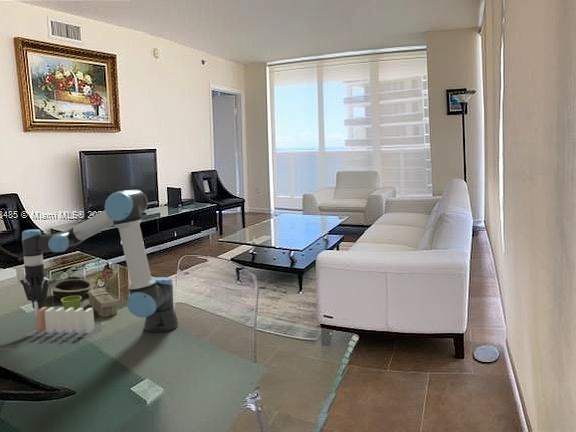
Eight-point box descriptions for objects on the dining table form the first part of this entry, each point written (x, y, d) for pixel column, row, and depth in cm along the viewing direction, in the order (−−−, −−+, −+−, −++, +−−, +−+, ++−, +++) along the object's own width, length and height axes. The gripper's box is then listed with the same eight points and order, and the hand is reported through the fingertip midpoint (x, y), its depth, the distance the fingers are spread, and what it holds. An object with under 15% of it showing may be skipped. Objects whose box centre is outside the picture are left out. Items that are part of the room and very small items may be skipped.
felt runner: (105, 326, 219) (105, 325, 219) (90, 338, 205) (90, 337, 205) (42, 325, 221) (42, 324, 221) (24, 337, 207) (24, 336, 207)
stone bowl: (47, 293, 272) (48, 277, 272) (94, 290, 283) (94, 275, 282) (46, 304, 250) (46, 287, 249) (96, 301, 261) (97, 285, 260)
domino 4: (75, 328, 215) (73, 307, 214) (69, 332, 210) (68, 311, 209) (71, 328, 215) (70, 307, 214) (65, 332, 210) (64, 311, 209)
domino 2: (56, 328, 216) (54, 307, 214) (50, 332, 211) (48, 311, 209) (52, 328, 216) (50, 307, 215) (46, 332, 211) (44, 311, 210)
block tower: (88, 305, 254) (101, 318, 229) (87, 290, 253) (100, 302, 229) (104, 302, 258) (118, 315, 234) (102, 287, 257) (117, 299, 233)
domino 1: (46, 328, 216) (47, 307, 215) (40, 332, 211) (40, 311, 210) (43, 327, 216) (43, 307, 215) (36, 332, 211) (36, 310, 210)
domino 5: (84, 328, 215) (83, 307, 214) (79, 333, 210) (78, 311, 209) (81, 328, 215) (79, 307, 214) (75, 332, 210) (74, 311, 209)
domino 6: (94, 329, 215) (93, 307, 213) (89, 333, 210) (87, 311, 208) (90, 328, 215) (89, 307, 213) (85, 333, 210) (83, 311, 208)
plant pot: (77, 318, 230) (76, 301, 229) (58, 318, 230) (57, 301, 229) (86, 312, 239) (84, 295, 238) (67, 312, 240) (66, 295, 238)
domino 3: (65, 328, 215) (64, 307, 214) (60, 332, 210) (58, 311, 209) (62, 328, 216) (60, 307, 214) (56, 332, 211) (54, 311, 209)
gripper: (52, 262, 213) (56, 312, 216) (25, 262, 214) (29, 312, 217) (43, 266, 205) (47, 318, 209) (14, 266, 206) (19, 318, 209)
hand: (38, 315), depth 213 cm, fingers closed
